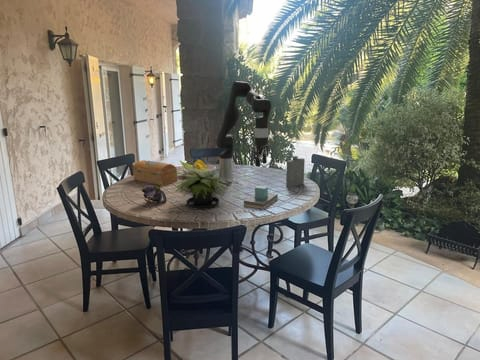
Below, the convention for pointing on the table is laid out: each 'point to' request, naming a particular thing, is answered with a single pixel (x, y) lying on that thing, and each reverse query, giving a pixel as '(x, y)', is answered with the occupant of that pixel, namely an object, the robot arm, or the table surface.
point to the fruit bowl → (198, 167)
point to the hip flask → (295, 172)
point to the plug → (261, 192)
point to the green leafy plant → (192, 173)
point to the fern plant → (202, 189)
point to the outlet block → (260, 201)
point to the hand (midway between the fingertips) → (261, 164)
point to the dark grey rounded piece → (153, 193)
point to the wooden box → (154, 172)
